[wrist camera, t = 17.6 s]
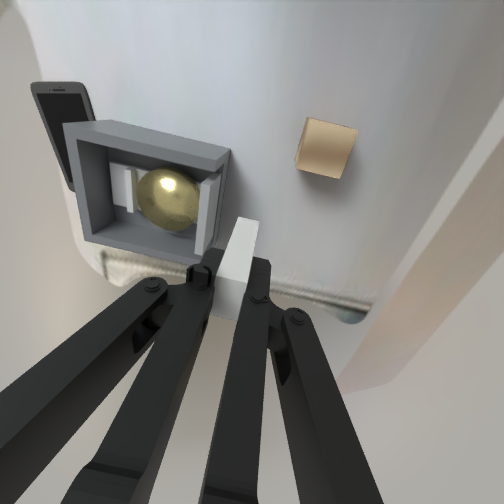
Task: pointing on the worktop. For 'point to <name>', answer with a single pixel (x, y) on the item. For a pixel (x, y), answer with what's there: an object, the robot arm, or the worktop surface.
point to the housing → (143, 156)
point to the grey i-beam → (126, 195)
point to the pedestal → (324, 147)
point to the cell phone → (62, 115)
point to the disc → (169, 198)
